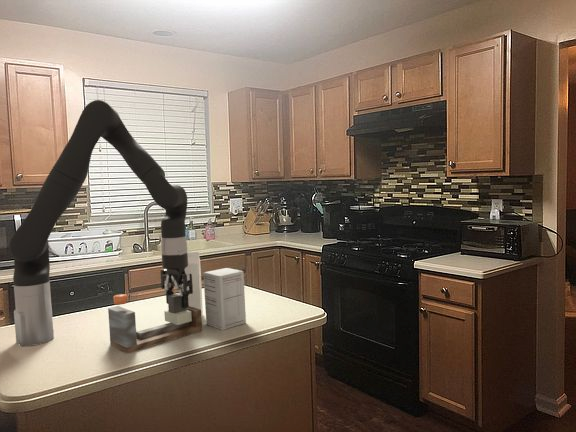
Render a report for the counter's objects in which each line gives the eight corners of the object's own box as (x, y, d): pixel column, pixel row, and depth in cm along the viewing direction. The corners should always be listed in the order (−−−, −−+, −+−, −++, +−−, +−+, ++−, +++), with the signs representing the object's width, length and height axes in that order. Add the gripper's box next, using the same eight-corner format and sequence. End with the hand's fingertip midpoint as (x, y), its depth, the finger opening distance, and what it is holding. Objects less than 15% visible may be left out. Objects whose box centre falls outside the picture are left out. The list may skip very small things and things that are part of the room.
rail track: (126, 353, 126) (124, 314, 125) (110, 344, 133) (108, 308, 132) (202, 330, 143) (200, 296, 142) (184, 324, 150) (182, 291, 149)
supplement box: (229, 317, 155) (227, 267, 154) (247, 323, 149) (244, 270, 147) (205, 324, 149) (202, 271, 148) (222, 330, 142) (219, 275, 141)
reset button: (117, 305, 127) (116, 298, 127) (111, 303, 129) (111, 296, 129) (130, 302, 129) (129, 295, 129) (124, 300, 132) (123, 293, 132)
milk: (185, 316, 159) (181, 251, 158) (203, 314, 160) (199, 250, 158) (182, 321, 153) (179, 254, 152) (201, 319, 154) (198, 253, 152)
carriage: (177, 325, 138) (175, 298, 138) (164, 320, 143) (163, 294, 142) (191, 321, 142) (190, 294, 141) (179, 316, 147) (177, 291, 146)
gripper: (151, 251, 143) (154, 304, 144) (176, 255, 133) (179, 312, 134) (173, 248, 148) (175, 299, 150) (198, 252, 138) (201, 307, 140)
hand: (177, 305), depth 142 cm, fingers open, 7 cm apart
